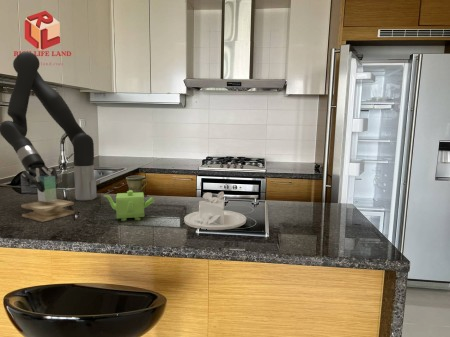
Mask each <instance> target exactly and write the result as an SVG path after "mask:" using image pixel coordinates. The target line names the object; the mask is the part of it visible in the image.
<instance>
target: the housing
mask: <svg viewBox="0 0 450 337" xmlns="http://www.w3.org/2000/svg"><path fill="white" fill-rule="evenodd" d="M38 178H39V180H40V182H41V183H42V185H43V186H44V188H45V190H44V192H41V191H39V190H38V194H37V198H38V200H37V202H38V201H43V202H48V201H53V200H56V199H57V189H56V184H57V181H55V176H50V175H49V176H48V175H46V176H40V177H38Z"/></svg>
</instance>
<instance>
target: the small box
mask: <svg viewBox="0 0 450 337" xmlns="http://www.w3.org/2000/svg"><path fill="white" fill-rule="evenodd" d="M30 176H31V175H30ZM19 177H20V189H21V190H20V192H21V194H22V195H23V194H24V195H38V188H37V186H36V185H30V184H29V183H28V182H27V181H26V180H25V179H24V178H23V177H22V176H21V174H20V175H19ZM31 177H32V178H33V176H31ZM30 181H31V180H30Z"/></svg>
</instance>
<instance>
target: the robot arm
mask: <svg viewBox="0 0 450 337" xmlns="http://www.w3.org/2000/svg"><path fill="white" fill-rule="evenodd" d="M12 65H13V69H14V71H15V72H16V74H17V75H16V81H15V83H14V86H13V90H12V92H11V94H10V98H9V103H8V108H7V111H6V112H7V115H8V116H9V117H10V118H11V119H12V120H4V121H2V122H1V123H0V135H1V136H2V137H3V139H4V140H5V141H6V142H7V143H8V144H9V146H11V147H12V148H13V150H14V151H15V153H16V155H17V158H18V159H19V161H20V163H21V165H22V166H23V168H24V169H25V170H23V171H22V173H21V174H20V175H21V176H22V177H23V178H24V179H25V180H26V181H27V182H28V183H29V184H30V185H36V186H37V188H38V190H39V191H41V192H44V190H45V188H44V186H43V185H42V183H41V182H40V180H39V178H38V177H40V176H46V175H48V176H49V175H50V176H55V182H57V179H58V174H57V170H56V168H55V167H52V168H48V167H47V166H46V163H45V161H44V159H43V158H42V156H41V155H40V153H39V151H38V150H37V149H36V147H35V146H34V145H33V143H32V141H31V140H30V139H29V138H27V137H26V136H27V133H28V122H27V121H28V120H27V111H28V108H29V101H30V96H31V95H30V94H31V91H32V92H33V94H34V95H35V97H36V98H37V99H38V100H39V102H40V103H41V105H42V106H43V107H44V109H45V110H46V112H47V113H48V115H49V116H50V117H51V118H52V119H53V121H55V123H56V124H57V125H58V126H59V127H60V128H61V129H62V130H63V132H64V133H65V134H66V136H67V137H68V139H69V141H70V143H71V145H72V148H73V174H74V175H73V177H74V192H75V194H74V195H75V200H76V201H92V200H95V199H96V198H97V180H96V178H95V165H94V164H95V163H94V161H95V149H94V148H95V144H94V139H93V137H92V136H90V135H89V134H87V133H86V132H85V131H84V129H83V128H82V127H81V126H80V125H79V123H78V122H77V121H76V118H75V116H74V114H73V113H72V110H71V109H70V107H69V105H68V104H67V102H66V100H65V99H64V98H63V96H61V94H60V93H59V92H58V91H57V90H55V89H54V88H53V87H51V85H50V84H48V83H47V82H46V81H45V80H44V79H43V77H42V76H41V74H40V73H39V71H38V70H39V68H40V60H39V58H38V57H37V55H36V54H34V53H33V52H31V51H22V52H20V53H19V54H18V55H16V57H15V58H14V59H13V62H12ZM30 175H31V176H33V178H32V177H31V176H30ZM30 180H31V181H30ZM57 189H58V184H57V183H56V190H57Z"/></svg>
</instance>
